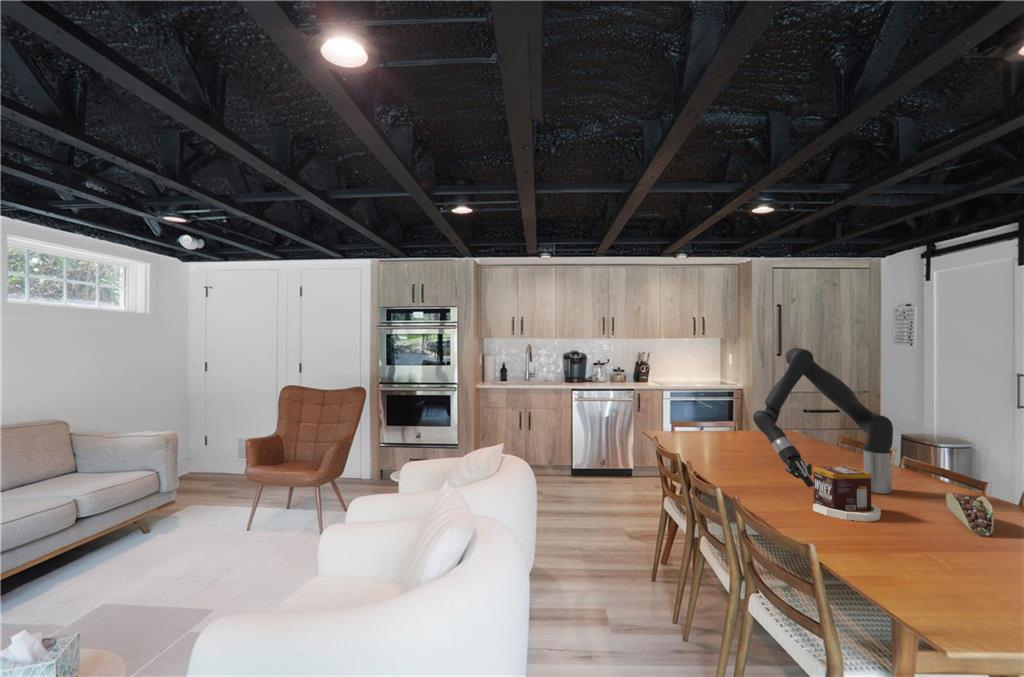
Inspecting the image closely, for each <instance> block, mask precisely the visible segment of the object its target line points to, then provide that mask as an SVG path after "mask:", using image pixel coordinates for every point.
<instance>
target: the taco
mask: <svg viewBox="0 0 1024 677" xmlns="http://www.w3.org/2000/svg"><path fill="white" fill-rule="evenodd" d="M945 501H946V506H947V508H948V510H949V511H950V512H952V514H953V515H955V517H957V519H958V520H959V521H960V522H962V524H964V526H966V527H967V529H969V530H970V531H971V532H972V533H973V534H975V536H980V537H989V536H991V535H992V533H993V531H994V525H995V520H994V519H995V516H994V510H993V505H992V504H991V503H990V501H989V500H988V499H987V497H985V496H982V495H981V496H979V497H973V496H972V497H971V496H970V497H969V496H965V497H963V496H962V495H961V496H959V495H958V494H957V495H956V494H955V495H954V494H952V493H950V492H947V493H946V496H945Z"/></svg>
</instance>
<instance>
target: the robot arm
mask: <svg viewBox="0 0 1024 677" xmlns="http://www.w3.org/2000/svg"><path fill="white" fill-rule="evenodd" d="M785 359H786V360H785V361H786V363H787V364H788V367H787V370H786V371H785V372H784V373H783V374H784V375H782V377H781V378H780V379H779V380H778V382H776V384H775V385H774V386H773V387H772V389H771V390H770V391H769V393H768V395H767V397H766V399H765V401H764V405H766V407H765V410H761V409H759V410H756V411H755V412H753V415H752V419H753V423H754V424H755V426H757V428H758V429H759V430H760V431H761V432H762V433H763V434H764V435H765V436H766V438H767V439H768V441H769V442H770V443H771V445H772V447H773V448H774V451H775V452H776V453H777V455H778V456H779V458H780V459H781V461H782V462H783V464H786V467H785V468H784V470H785V471H786V472H788V473H789V474H791V475H792V476H793V477H795V478H797V479H800V480H802V481H803V483H804V484H805V485H806V487H807V488H814V480H813V479H812V478H811V476H812V475H813V471H812V470H813V468H812V466H813V465H812V464H811V463H805V461H804V460H803V459H802V457H801V455H802V454H801V453H800V451H799V450H798V449H797V447H796V446H795V445H794V443H793V442H792V441H791V440H790V438H789V437H788V436H787V435H786V433H785V432H784V431H783V429H782V428H780V427H779V426H777V425H776V423H777V421H778V419H779V416H780V413H781V409H782V407H783V406H784V404H785V403H786V401H787V399H788V397H789V395H790V394H791V392H792V390H793V389H794V387H795V386H796V385H797V383H798V382H799V380H801V378H802V377H803V376H805V378H806V379H807V380H809V382H810V383H812V385H814V387H815V388H816V389H817V390H818V391H820V393H822V395H824V397H826V398H827V399H828V400H829V401H830V402H831V403H833V404H834V405H835V406H837V407H838V408H839V409H840V410H841V411H843V412H844V413H845V414H847V416H848V417H850V418H851V419H852V421H854V423H855V424H856V425H857V426H858V428H860V429H861V430H862V431H863V432H864V433H866V434H868V438H867V439H868V440H867V442H865V443H863V445H862V446H863V447H862V448H863V449H862V450H863V456H862V457H863V471H864V472H867V473H870V474H871V493H874V494H883V495H887V494H891V492H892V491H893V489H892V488H893V487H892V486H893V480H892V479H893V478H892V476H893V474H892V473H893V472H892V469H891V449H892V447H893V438H894V427H893V426H894V425H893V422H892V421H891V420H890V419H889V418H888V417H887V416H886V415H885V416H884V415H880V414H876V413H874V412H872V411H871V410H869V409H868V408H867V407H865V406H864V405H863V404H862V403H861V402H860V401H859V399H858V398H857V396H856V394H855V393H854V391H853V390H852V389H851V388H850V387H849V386H848V385H847V384H845V383H844V382H843V380H841V379H839V378H838V377H836V376H835V375H834V374H832V373H831V372H829V371H828V370H826V369H824V368H822V366H820V365H819V364H817V362H815V361H814V356H813V353H812V352H811V351H810V350H809V349H808V350H807V349H805V348H801V347H793V348H791V349H789V350H787V352H786V353H785Z"/></svg>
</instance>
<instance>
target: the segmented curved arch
mask: <svg viewBox="0 0 1024 677" xmlns="http://www.w3.org/2000/svg"><path fill="white" fill-rule="evenodd" d="M812 511H814V512H816V513H819V514H820V515H821V514H822V515H823V514H824V515H823V516H826V515H827V516H826V517H830V516H831V518H835V517H836V519H839V518H840V520H844V519H845V521H851V520H854V521H853V522H855V521H856V522H867V523H869V522H875V521H879V520H880V518H881V511H882V510H881V508H880V507H878V506H877V505H875V504H873V503H872V502H871V512H865V513H858V512H846V511H841V510H836V509H831V508H828V507H825V506H822V505H819V504H814V503H813V504H812Z"/></svg>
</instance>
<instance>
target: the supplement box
mask: <svg viewBox="0 0 1024 677" xmlns="http://www.w3.org/2000/svg"><path fill="white" fill-rule="evenodd" d="M813 483H814V486H813V504H819V505H822V506H825V507H828V508H831V509H836V510H841V511H846V512H858V513H865V512H871V503H872V492H871V474H870V473H867V472H864V470H861V469H857V468H855V467H851V466H821V467H820V466H819V467H818V466H814V467H813Z"/></svg>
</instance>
